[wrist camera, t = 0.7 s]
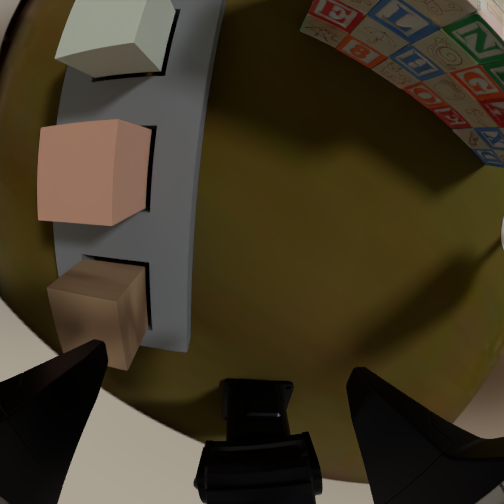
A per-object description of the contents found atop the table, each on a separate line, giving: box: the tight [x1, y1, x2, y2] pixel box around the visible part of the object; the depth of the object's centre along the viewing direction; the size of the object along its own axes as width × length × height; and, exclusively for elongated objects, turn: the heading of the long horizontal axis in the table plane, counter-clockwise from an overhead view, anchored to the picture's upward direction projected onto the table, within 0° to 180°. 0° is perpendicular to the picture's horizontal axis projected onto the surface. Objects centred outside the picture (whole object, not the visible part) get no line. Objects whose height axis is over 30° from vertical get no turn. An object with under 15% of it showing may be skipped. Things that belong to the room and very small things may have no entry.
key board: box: [53, 0, 225, 353], centre depth 16 cm, size 27×11×2 cm, turn 173°
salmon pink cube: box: [37, 119, 152, 226], centre depth 13 cm, size 5×5×5 cm
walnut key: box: [47, 259, 148, 371], centre depth 16 cm, size 5×5×5 cm
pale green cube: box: [55, 0, 176, 78], centre depth 10 cm, size 5×5×5 cm
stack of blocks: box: [299, 0, 504, 168], centre depth 10 cm, size 21×6×12 cm, turn 67°
